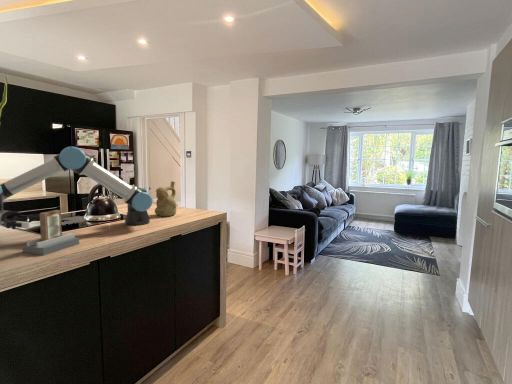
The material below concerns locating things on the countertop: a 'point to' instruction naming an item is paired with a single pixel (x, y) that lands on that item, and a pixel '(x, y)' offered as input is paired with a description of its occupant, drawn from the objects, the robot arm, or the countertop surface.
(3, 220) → the robot arm
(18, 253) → the countertop surface
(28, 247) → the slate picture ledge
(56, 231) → the walnut photo frame
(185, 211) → the countertop surface
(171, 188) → the ceramic vessel
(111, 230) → the countertop surface
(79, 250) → the countertop surface
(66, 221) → the play button award
